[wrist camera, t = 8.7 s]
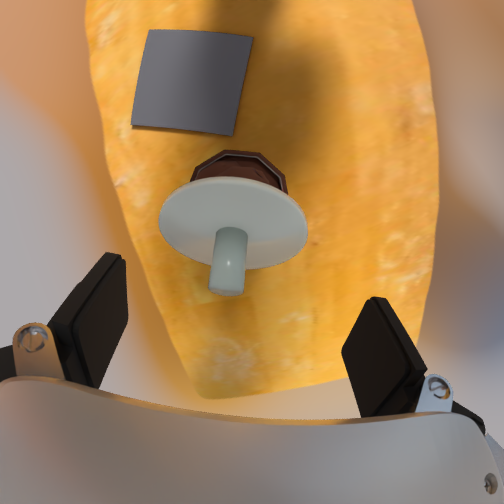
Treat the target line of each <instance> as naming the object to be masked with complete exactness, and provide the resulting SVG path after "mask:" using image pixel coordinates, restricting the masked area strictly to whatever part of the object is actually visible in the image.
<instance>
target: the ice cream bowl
mask: <svg viewBox="0 0 504 504" xmlns="http://www.w3.org/2000/svg"><path fill="white" fill-rule="evenodd" d="M209 177H239V178H246V179H251V180H256V181H259V182H262V183H265V184H268V185H270V186H273V187H275V188H277V189H279V190H281V191H282V192H284V193H286V194H287V195H288V191H287V186H286V180H285V175H284V174H282V173H281V172H280V171H279V170H278V169H277V168H276V167H275V166H274V165H273V164H271V163H270V162H269V161H268V160H267V159H266V158H265V157H264V156H263V155H261V154H260V153H257V152H247V151H236V150H223V151H221V152H220V153H218V154H216V155H215V156H213V157H211V158H210V159H208V160H206V161H205V162H203V163H202V164H200V165H198V166H197V167H195V170H194V172H193V175H192V178H191V180H190V182H192V181H195V180H199V179H204V178H209Z"/></svg>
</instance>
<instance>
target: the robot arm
mask: <svg viewBox="0 0 504 504" xmlns="http://www.w3.org/2000/svg"><path fill="white" fill-rule="evenodd" d="M126 287H127V286H126V261H125V260H124V259H122V257H121V255H119V254H114V253H109V252H106V253H105V254H104V255H103V256H102V257H101V258H100V260H99V261H98V262H97V263H96V264H95V265H94V267H93V268H92V269H91V270H90V272H89V273H88V274H87V275H86V276H85V278H84V279H83V280H82V281H81V282H80V283H78V284H77V285H76V287H75V288H74V289H73V290H72V292H71V293H70V294H69V296H68V297H67V298H66V300H65V301H64V302H63V304H62V305H61V306H60V307H59V309H58V310H57V312H56V313H55V314H54V316H53V317H52V318H51V320H50V321H49V323H48V324H47V325H44V324H42V323H36V322H35V323H28V324H26V325H23V326H22V327H20V328H19V329H18V330H17V331H16V332H15V334H14V336H13V342H12V343H13V345H10V346H7V347H3V348H0V504H504V449H503V448H502V447H501V446H500V445H499V444H498V443H497V442H496V441H495V440H494V439H493V438H492V437H491V436H490V435H489V434H488V433H487V434H486V435H485V425H484V422H483V420H482V419H481V418H480V417H479V416H477V415H476V414H474V413H473V412H471V411H469V410H468V409H466V408H465V407H463V406H461V405H459V404H458V403H456V402H455V401H453V389H452V387H451V385H450V383H448V381H447V380H446V379H445V378H443V377H442V376H440V375H437V374H430V375H428V376H427V377H426V378H425V376H424V373H425V372H426V371H427V367H426V365H425V364H424V361H423V360H422V358H421V356H420V354H419V353H418V351H417V349H416V347H415V345H414V344H413V342H412V340H411V338H410V337H409V335H408V333H407V332H406V330H405V328H404V327H403V325H402V323H401V322H400V320H399V318H398V317H397V315H396V313H395V312H394V310H393V309H392V307H391V305H390V304H389V302H388V301H387V299H386V298H381V297H374V296H373V297H371V298H370V300H367V301H366V302H365V304H364V306H363V308H362V310H361V312H360V314H359V316H358V318H357V320H356V322H355V324H354V326H353V328H352V330H351V332H350V334H349V336H348V338H347V339H346V341H345V343H344V345H343V347H342V351H341V354H342V358H343V361H344V364H345V367H346V370H347V373H348V376H349V379H350V382H351V386H352V389H353V392H354V395H355V398H356V402H357V405H358V408H359V411H360V415H361V418H352V419H329V420H288V419H264V418H250V417H240V416H230V415H221V414H213V413H205V412H199V411H193V410H186V409H180V408H175V407H170V406H165V405H160V404H155V403H151V402H146V401H142V400H138V399H133V398H128V397H125V396H121V395H117V394H113V393H110V392H106V391H103V390H99V387H100V385H101V382H102V380H103V377H104V375H105V373H106V370H107V368H108V365H109V363H110V360H111V358H112V356H113V354H114V352H115V349H116V347H117V345H118V343H119V340H120V338H121V336H122V333H123V332H124V329H125V327H126V325H127V322H128V304H127V288H126Z"/></svg>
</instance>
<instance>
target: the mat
mask: <svg viewBox="0 0 504 504" xmlns="http://www.w3.org/2000/svg"><path fill="white" fill-rule="evenodd" d="M252 41H253V37H248V36H242V35H235V34H227V33H218V32H207V31H193V30H149V32H148V36H147V40H146V44H145V48H144V52H143V57H142V61H141V66H140V71H139V76H138V81H137V86H136V92H135V98H134V104H133V111H132V118H131V125H142V126H154V127H165V128H175V129H184V130H192V131H200V132H208V133H214V134H221V135H227V136H233V131H234V126H235V120H236V115H237V110H238V105H239V101H240V96H241V91H242V86H243V82H244V77H245V72H246V68H247V63H248V59H249V54H250V50H251V46H252Z"/></svg>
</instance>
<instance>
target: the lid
mask: <svg viewBox="0 0 504 504" xmlns="http://www.w3.org/2000/svg"><path fill="white" fill-rule="evenodd" d="M159 228H160V231H161V233H162V235H163V237H164V238H165V240H166V241H167V242H168V243H169V244H170V245H171V246H172V247H173V248H174V249H175V250H177V251H178V252H180V253H181V254H183V255H185V256H187V257H189V258H191V259H193V260H195V261H198V262H201V263H204V264H207V265H211V271H210V278H209V285H208V289H209V290H210V291H211V292H213V293H215V294H218V295H222V296H237V295H240V294H242V293H243V292H244V281H245V270H246V269H259V268H266V267H271V266H274V265H278V264H280V263H283V262H285V261H287V260H289V259H291V258H292V257H294V256H295V255H296V254H298V253H299V252H300V251H301V250H302V248H303V247H304V245H305V243H306V241H307V236H308V228H307V220H306V216H305V214H304V212H303V210H302V209H301V207H300V206H299V205H298V204H297V203H296V202H295V201H294V200H293V199H292V198H291V197H290V196H288V195H287V194H286V193H284V192H282V191H281V190H279V189H277V188H275V187H273V186H270V185H268V184H265V183H262V182H259V181H256V180H251V179H246V178H239V177H209V178H204V179H199V180H195V181H192V182H189V183H187V184H185V185H183V186H181V187H179V188H177V189H176V190H174V191H173V192H172V193H171V194H170V195H169V196H168V197H167V198H166V200H165V201H164V203H163V205H162V208H161V211H160V215H159Z"/></svg>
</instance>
